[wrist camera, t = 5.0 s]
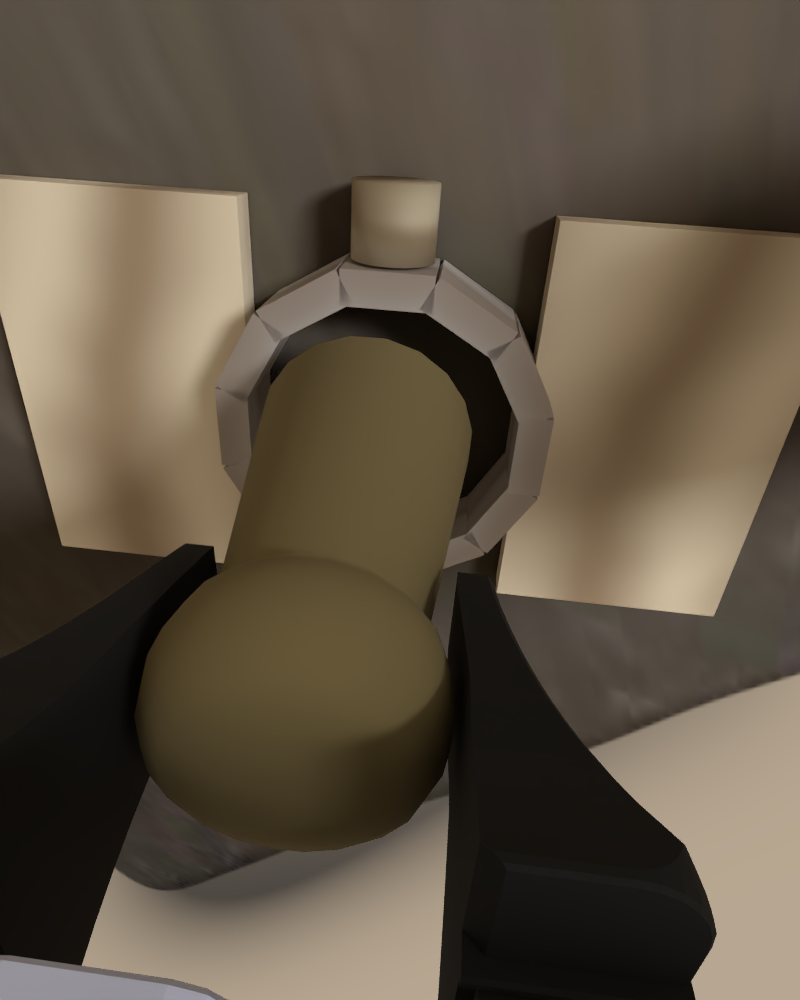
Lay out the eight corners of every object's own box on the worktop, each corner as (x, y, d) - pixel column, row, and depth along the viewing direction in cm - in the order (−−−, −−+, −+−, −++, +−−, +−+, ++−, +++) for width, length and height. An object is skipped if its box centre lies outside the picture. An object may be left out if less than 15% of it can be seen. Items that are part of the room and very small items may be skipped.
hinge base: (857, 209, 17) (910, 222, 15) (699, 613, 25) (720, 659, 23) (-20, 146, 19) (-84, 150, 17) (79, 545, 26) (44, 583, 24)
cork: (322, 544, 21) (217, 919, 12) (221, 384, 18) (-25, 720, 9) (502, 487, 19) (540, 876, 10) (421, 299, 16) (374, 608, 7)
